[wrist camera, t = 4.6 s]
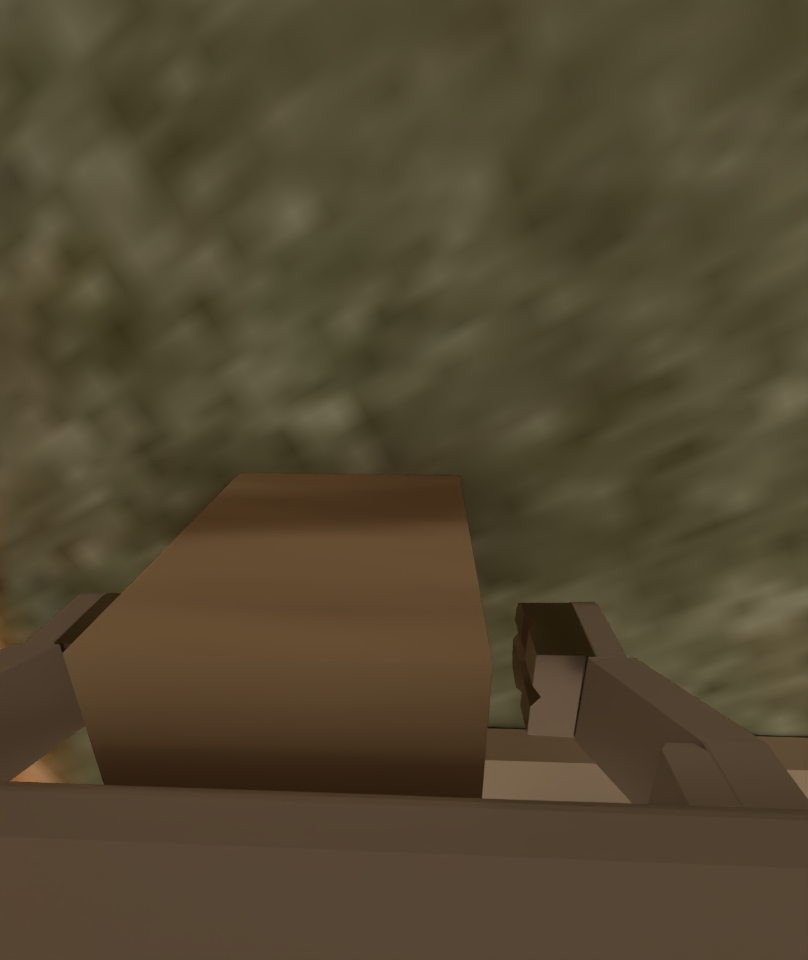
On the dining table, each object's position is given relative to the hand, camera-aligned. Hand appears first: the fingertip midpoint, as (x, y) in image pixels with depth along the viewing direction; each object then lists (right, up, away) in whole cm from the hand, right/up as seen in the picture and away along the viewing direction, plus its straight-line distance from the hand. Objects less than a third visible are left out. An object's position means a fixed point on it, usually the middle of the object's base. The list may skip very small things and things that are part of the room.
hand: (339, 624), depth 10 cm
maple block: (0, +1, +2) cm, 2 cm away
